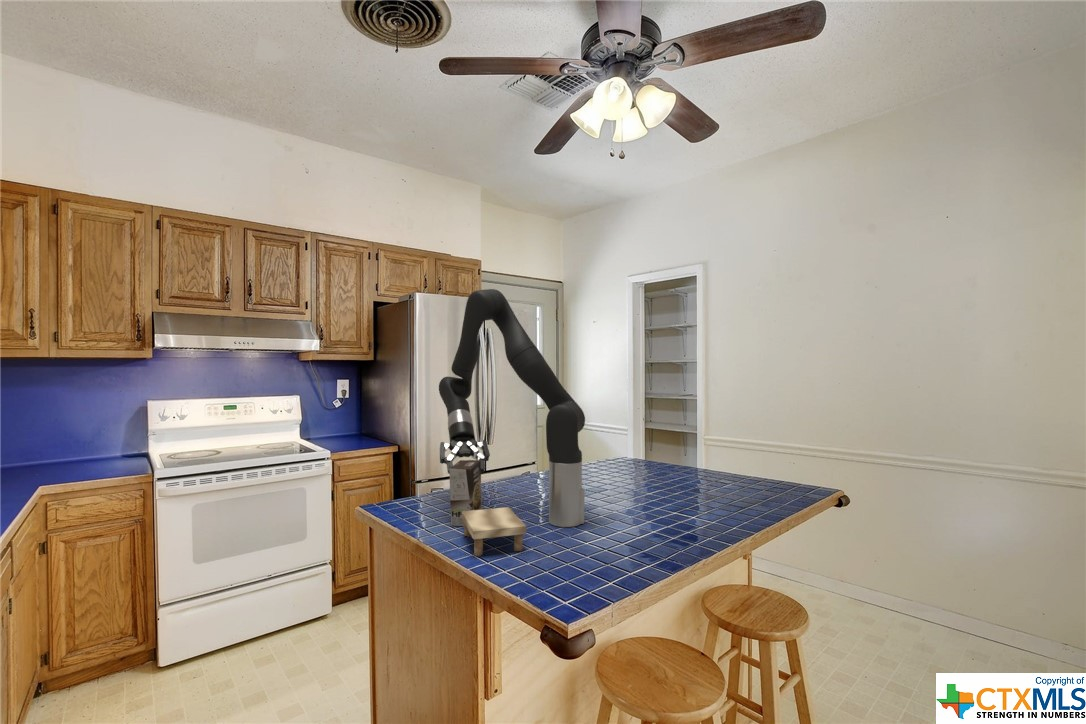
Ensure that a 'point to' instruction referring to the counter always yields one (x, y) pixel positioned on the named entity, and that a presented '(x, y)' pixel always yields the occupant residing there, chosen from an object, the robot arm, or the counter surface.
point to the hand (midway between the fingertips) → (467, 473)
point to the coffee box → (465, 489)
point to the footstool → (493, 526)
